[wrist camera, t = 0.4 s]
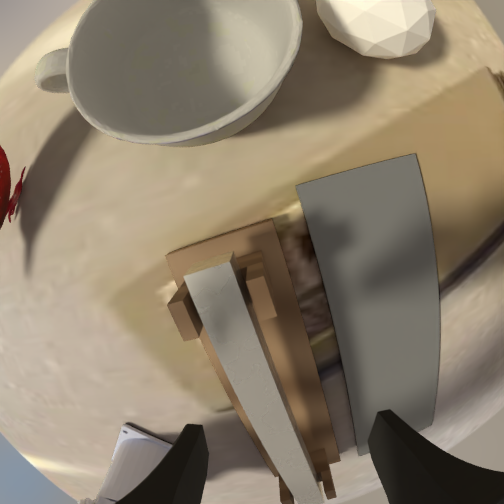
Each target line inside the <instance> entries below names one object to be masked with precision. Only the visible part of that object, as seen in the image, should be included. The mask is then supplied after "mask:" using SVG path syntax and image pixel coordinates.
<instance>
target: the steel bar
mask: <svg viewBox="0 0 504 504" xmlns="http://www.w3.org/2000/svg"><path fill="white" fill-rule="evenodd" d="M183 277H184V280H185V282H186V285H187V287H188V290H189V292H190V294H191V297H192V299H193V302H194V304H195V306H196V309H197V311H198V313H199V316H200V318H201V320H202V323H203V325H204V327H205V330H206V332H207V334H208V336H209V338H210V341H211V343H212V345H213V347H214V349H215V352H216V354H217V356H218V358H219V360H220V362H221V364H222V367H223V369H224V371H225V373H226V375H227V377H228V379H229V381H230V383H231V385H232V387H233V389H234V391H235V393H236V395H237V397H238V399H239V401H240V403H241V405H242V407H243V409H244V411H245V413H246V415H247V417H248V418H249V420H250V422H251V424H252V426H253V428H254V430H255V431H256V433H257V435H258V437H259V439H260V441H261V442H262V444H263V446H264V448H265V449H266V451H267V453H268V455H269V456H270V458H271V460H272V462H273V463H274V465H275V467H276V468H277V470H278V472H279V474H280V475H281V477H282V478H283V480H284V482H285V483H286V485H287V487H288V488H289V490H290V491H291V493H292V495H293V496H294V498H295V499H296V501H297V502H298V504H321V503H325V502H324V497H323V492H322V487H321V484H320V481H319V479H318V476H317V474H316V471H315V469H314V466H313V464H312V461H311V459H310V456H309V453H308V451H307V448H306V446H305V443H304V441H303V438H302V436H301V433H300V430H299V428H298V425H297V423H296V420H295V417H294V415H293V412H292V410H291V407H290V404H289V402H288V399H287V396H286V394H285V391H284V389H283V386H282V383H281V381H280V378H279V375H278V373H277V370H276V367H275V365H274V362H273V359H272V356H271V354H270V351H269V348H268V346H267V343H266V340H265V337H264V335H263V332H262V329H261V327H260V324H259V321H258V318H257V316H256V313H255V310H254V307H253V304H252V302H251V299H250V296H249V293H248V291H247V288H246V285H245V282H244V279H243V277H242V274H241V271H240V268H239V265H238V262H237V260H236V257H235V254H234V251H231V252H227V253H224V254H221V255H218V256H215V257H212V258H209V259H206V260H203V261H200V262H197V263H194V264H193V265H192V266H191V267H190V268H189V270H188V271H187V272H186V273H185V275H184V276H183Z"/></svg>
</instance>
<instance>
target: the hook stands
mask: <svg viewBox="0 0 504 504" xmlns="http://www.w3.org/2000/svg"><path fill="white" fill-rule="evenodd" d="M231 251H234V254H235V257H236V260H237V262H238V265H239V268H240V271H241V274H242V277H243V279H244V282H245V285H246V288H247V291H248V293H249V296H250V299H251V302H252V304H253V307H254V310H255V313H256V316H257V318H258V321H259V324H260V327H261V329H262V332H263V335H264V337H265V340H266V343H267V346H268V348H269V351H270V354H271V356H272V359H273V362H274V365H275V367H276V370H277V373H278V375H279V378H280V381H281V383H282V386H283V389H284V391H285V394H286V396H287V399H288V402H289V404H290V407H291V410H292V412H293V415H294V417H295V420H296V423H297V425H298V428H299V430H300V433H301V436H302V438H303V441H304V443H305V446H306V448H307V451H308V453H309V456H310V459H311V461H312V464H313V466H314V469H315V471H316V474H317V476H318V479H319V481H320V482H321V481H323V486H324V491H325V494H326V496H327V499H332V498H336V492H335V488H334V484H333V479H332V475H331V471H330V467H329V464H332V463H336V462H339V461H341V460H340V456H339V452H338V448H337V444H336V440H335V436H334V432H333V428H332V424H331V420H330V416H329V412H328V409H327V405H326V401H325V397H324V393H323V390H322V386H321V382H320V378H319V375H318V371H317V367H316V364H315V360H314V357H313V353H312V350H311V346H310V342H309V339H308V335H307V332H306V328H305V325H304V321H303V318H302V315H301V311H300V308H299V304H298V301H297V298H296V294H295V291H294V288H293V284H292V281H291V278H290V274H289V271H288V268H287V265H286V261H285V258H284V255H283V252H282V248H281V245H280V242H279V239H278V236H277V233H276V229H275V226H274V223H273V220H272V218H271V219H268V220H265V221H262V222H259V223H256V224H253V225H250V226H247V227H243V228H240V229H237V230H234V231H231V232H228V233H225V234H222V235H219V236H216V237H213V238H210V239H207V240H204V241H201V242H199V243H196V244H193V245H190V246H187V247H184V248H181V249H178V250H175V251H172V252H169V253H168V254H167V255H166V256H165V257H166V260H167V262H168V265H169V267H170V270H171V272H172V275H173V277H174V280H175V282H176V285H177V287H178V290H177V292H176V293H175V295H174V296H173V297H172V299H171V300H170V302H169V303H168V304H167V306H168V308H169V310H170V313H171V315H172V317H173V319H174V321H175V324H176V326H177V328H178V330H179V332H180V334H181V336H182V338H183V340H184V341H188V340H192V339H196V338H200V340H201V342H202V344H203V346H204V348H205V351H206V353H207V355H208V357H209V359H210V361H211V363H212V365H213V367H214V369H215V371H216V373H217V375H218V377H219V379H220V381H221V383H222V385H223V387H224V389H225V391H226V393H227V395H228V397H229V399H230V400H231V402H232V404H233V406H234V408H235V410H236V412H237V413H238V415H239V417H240V419H241V421H242V423H243V424H244V426H245V428H246V430H247V431H248V433H249V435H250V437H251V438H252V440H253V442H254V444H255V445H256V447H257V449H258V450H259V452H260V454H261V455H262V457H263V459H264V460H265V462H266V464H267V465H268V467H269V468H270V470H271V472H272V473H273V475H274V476H275V477H278V476H279V488H280V502H281V503H282V504H294V496H293V495H292V493H291V491H290V490H289V488H288V487H287V485H286V483H285V482H284V480H283V478H282V477H281V475H280V474H279V472H278V470H277V468H276V467H275V465H274V463H273V462H272V460H271V458H270V456H269V455H268V453H267V451H266V449H265V448H264V446H263V444H262V442H261V441H260V439H259V437H258V435H257V433H256V431H255V430H254V428H253V426H252V424H251V422H250V420H249V418H248V417H247V415H246V413H245V411H244V409H243V407H242V405H241V403H240V401H239V399H238V397H237V395H236V393H235V391H234V389H233V387H232V385H231V383H230V381H229V379H228V377H227V375H226V373H225V371H224V369H223V367H222V364H221V362H220V360H219V358H218V356H217V354H216V352H215V349H214V347H213V345H212V343H211V341H210V338H209V336H208V334H207V332H206V330H205V327H204V325H203V323H202V320H201V318H200V316H199V313H198V311H197V309H196V306H195V304H194V302H193V299H192V297H191V294H190V292H189V290H188V287H187V285H186V282H185V280H184V277H183V276H184V275H185V273H186V272H187V271H188V270H189V268H190V267H191V266H192V265H193V264H194V263H197V262H200V261H203V260H206V259H209V258H212V257H215V256H218V255H221V254H224V253H227V252H231Z"/></svg>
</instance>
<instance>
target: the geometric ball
mask: <svg viewBox="0 0 504 504" xmlns="http://www.w3.org/2000/svg"><path fill="white" fill-rule="evenodd" d="M316 7H317V14H318V15H319V17H320V18H321V20H322V22H323V23H324V25H325V27H326V28H327V30H328V32H329V33H330V35H331V37H332V38H334V39H336V40H338V41H339V42H341V43H343V44H345V45H346V46H348V47H350V48H351V49H353V50H355V51H356V52H358V53H360V54H361V55H363V56H370V57H377V58H383V59H392V58H397V57H402V56H407V55H411V54H416V53H417V52H418V51H419V50H420V49H421V48H422V47H423V46H424V45H425V44H426V43H427V42H428V41H429V40H430V37H431V33H432V28H433V23H434V19H435V13H436V8H435V7H434V5H433V3H432V2H431V0H316Z"/></svg>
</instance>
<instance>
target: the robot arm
mask: <svg viewBox="0 0 504 504" xmlns="http://www.w3.org/2000/svg"><path fill="white" fill-rule="evenodd" d="M367 442H368V446H369V450H370V454H371V458H372V461H373V464H374V466H375V468H376V471H377V473H378V476H379V478H380V481H381V483H382V485H383V488H384V490H385V492H386V495H387V497H388V501H389V504H504V472H499V471H493V470H489V469H485V468H482V467H479V466H475V465H473V464H470V463H467V462H465V461H463V460H460V459H458V458H456V457H454V456H452V455H450V454H449V453H447V452H445V451H443V450H442V449H440V448H439V447H437V446H436V445H434V444H433V443H431V442H430V441H428V440H427V439H425V438H424V437H423V436H422V435H420V434H419V433H418V432H416V431H415V430H414V429H413V428H412V427H410V426H409V425H408V424H407V423H406V422H404V421H403V420H402V419H401V418H400V417H399V416H398V415H396V414H395V413H394V412H393V411H392V410H390V409H388V410H383V411H379V412H377V414H376V417H375V421H374V424H373V426H372V429H371V432H370V435H369V438H368V441H367ZM208 456H209V452H208V448H207V444H206V439H205V435H204V430H203V425H196V424H187V425H185V427H184V429H183V430H182V432H181V434H180V435H179V437H178V438H177V440H176V441H175V443H174V444H173V445H172V444H169V443H167V442H164V441H162V440H160V439H157V438H155V437H153V436H150V435H148V434H146V433H144V432H142V431H140V430H137V429H135V428H133V427H131V426H129V425H127V424H123V426H122V428H121V431H120V434H119V437H118V441H117V444H116V447H115V450H114V454H113V457H112V463H111V465H110V467H109V470H108V472H107V474H106V476H105V479H104V481H103V483H102V485H101V488H100V490H99V492H98V494H97V497H96V499H95V500H93V501H92V500H91V499H89V498H86V499H81V500H79V502H78V503H77V504H200V503H201V499H202V494H203V490H204V485H205V481H206V476H207V468H208Z"/></svg>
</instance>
